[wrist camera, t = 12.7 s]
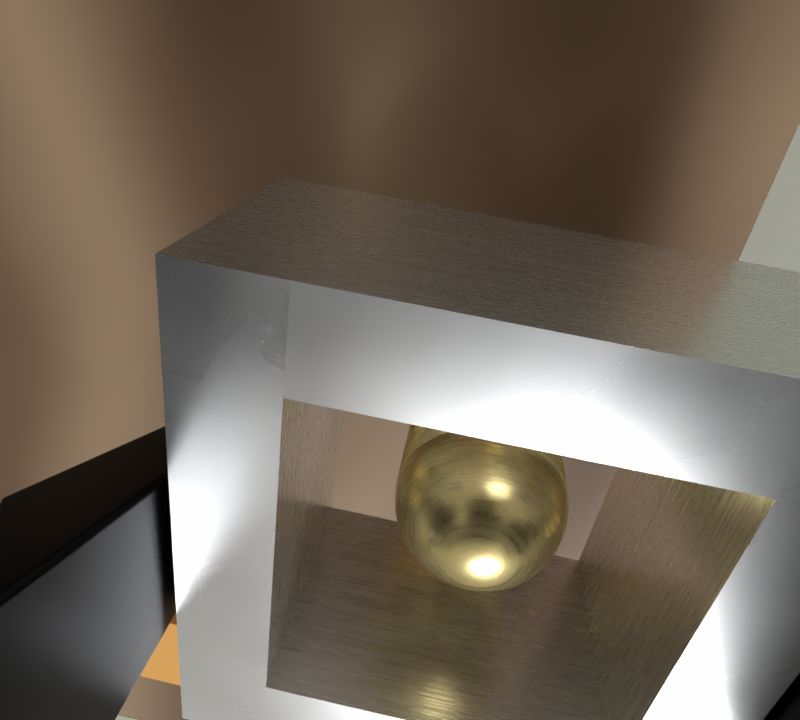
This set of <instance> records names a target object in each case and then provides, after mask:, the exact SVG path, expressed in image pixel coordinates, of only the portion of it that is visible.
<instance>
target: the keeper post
mask: <svg viewBox="0 0 800 720" xmlns="http://www.w3.org/2000/svg"><path fill="white" fill-rule="evenodd" d="M395 509H396V517H397V521H398V525H399V529H400V532H401V534H402V536H403V539H404V541H405V543H406V545H407V546H408V548H409V550H410V551H411V553H412V554H413V555H414V556H415V558H416V559H417V560H418V561H419V563H420V564H421V565H422V566H423V567H424V568H425V569H427V570H428V571H429V572H431V573H432V574H433V575H434V576H436V577H437V578H439V579H441V580H442V581H444V582H446V583H448V584H450V585H453V586H456V587H459V588H463V589H467V590H472V591H498V590H503V589H507V588H510V587H514V586H516V585H518V584H520V583H522V582H524V581H526V580H528V579H529V578H531V577H533V576H534V575H535V574H537V573H538V572H539V571H540V570H541V569H542V568H543V567H544V566H545V565H546V564H547V563H548V562H549V561H550V560H551V558H552V557H553V555H554V554H555V552H556V551H557V549H558V547H559V545H560V543H561V541H562V539H563V536H564V533H565V530H566V526H567V520H568V512H569V502H568V490H567V483H566V477H565V471H564V465H563V459H562V455H557V454H553V453H548V452H543V451H538V450H533V449H528V448H523V447H519V446H514V445H509V444H504V443H499V442H494V441H489V440H485V439H480V438H475V437H470V436H465V435H460V434H455V433H451V432H446V431H441V430H436V429H431V428H426V427H421V426H416V425H412V424H410V426H409V431H408V435H407V439H406V444H405V448H404V452H403V457H402V461H401V465H400V469H399V474H398V478H397V483H396V490H395Z"/></svg>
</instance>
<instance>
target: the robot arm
mask: <svg viewBox="0 0 800 720" xmlns="http://www.w3.org/2000/svg"><path fill="white" fill-rule="evenodd" d="M175 613H176V601H175V584H174V567H173V550H172V533H171V516H170V500H169V483H168V466H167V449H166V432H165V426H164V427H161V428H159V429H157V430H155V431H152V432H150V433H148V434H146V435H143V436H141V437H139V438H137V439H134V440H132V441H130V442H128V443H125V444H123V445H121V446H119V447H116V448H114V449H112V450H110V451H107V452H105V453H103V454H101V455H98V456H96V457H94V458H92V459H89V460H87V461H85V462H83V463H80V464H78V465H76V466H74V467H71V468H69V469H67V470H65V471H62V472H60V473H58V474H56V475H53V476H51V477H49V478H47V479H44V480H42V481H40V482H38V483H35V484H33V485H31V486H29V487H26V488H24V489H22V490H20V491H17V492H15V493H13V494H11V495H8V496H6V497H4V498H3V499H2V500H1V502H0V720H115V719H116V717H117V715H118V714H119V712H120V710H121V708H122V706H123V705H124V703H125V701H126V699H127V698H128V696H129V694H130V692H131V691H132V689H133V687H134V685H135V684H136V682H137V680H138V678H139V677H140V675H141V673H142V671H143V670H144V668H145V666H146V664H147V662H148V661H149V659H150V657H151V655H152V654H153V652H154V650H155V648H156V647H157V645H158V643H159V641H160V640H161V638H162V636H163V634H164V633H165V631H166V629H167V627H168V626H169V624H170V622H171V620H172V618H173V617H174V615H175ZM763 720H800V673H799V674H798V675H797V677H796V678H795V679H794V681H793V682H792V683H791V684H790V686H789V687H788V688H787V690H786V691H785V692H784V693H783V695H782V696H781V697H780V698H779V700H778V701H777V702H776V704H775V705H774V706H773V707H772V709H771V710H770V711H769V713H768V714H767V715H766V716H765V718H764V719H763Z"/></svg>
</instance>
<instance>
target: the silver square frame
mask: <svg viewBox="0 0 800 720" xmlns="http://www.w3.org/2000/svg"><path fill="white" fill-rule="evenodd" d="M155 264H156V280H157V297H158V314H159V331H160V348H161V365H162V382H163V398H164V415H165V432H166V449H167V466H168V483H169V500H170V516H171V533H172V550H173V567H174V584H175V601H176V618H177V635H178V651H179V668H180V685H181V702H182V718H184V719H188V720H763V719H764V718H765V716H766V715H767V714H768V713H769V711H770V710H771V709H772V707H773V706H774V705H775V704H776V702H777V701H778V700H779V698H780V697H781V696H782V695H783V693H784V692H785V691H786V690H787V688H788V687H789V686H790V684H791V683H792V682H793V681H794V679H795V678H796V677H797V675H798V674H799V673H800V273H799V272H795V271H790V270H785V269H779V268H774V267H768V266H763V265H757V264H752V263H746V262H741V261H736V260H730V259H725V258H719V257H714V256H708V255H703V254H697V253H692V252H687V251H681V250H676V249H670V248H665V247H659V246H654V245H649V244H643V243H638V242H632V241H627V240H621V239H616V238H610V237H605V236H600V235H594V234H589V233H583V232H578V231H572V230H567V229H561V228H556V227H551V226H545V225H540V224H534V223H529V222H523V221H518V220H513V219H507V218H502V217H496V216H491V215H485V214H480V213H474V212H469V211H464V210H458V209H453V208H447V207H442V206H436V205H431V204H425V203H420V202H415V201H409V200H404V199H398V198H393V197H387V196H382V195H376V194H371V193H366V192H360V191H355V190H349V189H344V188H338V187H333V186H328V185H322V184H317V183H311V182H306V181H300V180H295V179H289V178H282V179H280V180H279V181H277V182H275V183H274V184H272V185H270V186H269V187H267V188H265V189H264V190H262V191H260V192H258V193H257V194H255V195H253V196H252V197H250V198H248V199H247V200H245V201H243V202H242V203H240V204H238V205H237V206H235V207H233V208H232V209H230V210H228V211H226V212H225V213H223V214H221V215H220V216H218V217H216V218H215V219H213V220H211V221H210V222H208V223H206V224H205V225H203V226H201V227H200V228H198V229H196V230H194V231H193V232H191V233H189V234H188V235H186V236H184V237H183V238H181V239H179V240H178V241H176V242H174V243H173V244H171V245H169V246H167V247H166V248H164V249H162V250H161V251H159V252H157V253H156V254H155ZM343 410H344V411H348V412H353V413H358V414H363V415H368V416H373V417H378V418H382V419H387V420H392V421H397V422H402V423H407V424H412V425H416V426H421V427H426V428H431V429H436V430H441V431H446V432H451V433H455V434H460V435H465V436H470V437H475V438H480V439H485V440H489V441H494V442H499V443H504V444H509V445H514V446H519V447H523V448H528V449H533V450H538V451H543V452H548V453H553V454H557V455H562V456H567V457H572V458H577V459H582V460H587V461H591V462H596V463H601V464H606V465H611V466H616V467H617V470H616V472H615V474H614V477H613V479H612V482H611V484H610V486H609V489H608V491H607V494H606V496H605V498H604V501H603V503H602V506H601V508H600V510H599V513H598V515H597V518H596V520H595V522H594V525H593V527H592V530H591V532H590V534H589V537H588V539H587V542H586V544H585V546H584V549H583V551H582V554H581V556H580V558H579V560H574V559H569V558H565V557H560V556H555V555H553V557H552V558H551V560H550V561H549V562H548V563H547V564H546V565H545V566H544V567H543V568H542V569H541V570H540V571H539V572H538V573H537V574H535V575H534V576H533V577H531V578H529V579H528V580H526V581H524V582H522V583H520V584H518V585H516V586H514V587H510V588H507V589H503V590H498V591H472V590H467V589H463V588H459V587H456V586H453V585H450V584H448V583H446V582H444V581H442V580H441V579H439V578H437V577H436V576H434V575H433V574H432V573H431V572H429V571H428V570H427V569H425V568H424V567H423V566H422V565H421V564H420V563H419V561H418V560H417V559H416V558H415V556H414V555H413V554H412V553H411V551H410V550H409V548H408V546H407V545H406V543H405V541H404V539H403V536H402V534H401V532H400V529H399V525H398V521H393V520H388V519H384V518H379V517H374V516H370V515H365V514H361V513H356V512H351V511H347V510H342V509H337V508H333V507H331V503H332V495H333V486H334V478H335V469H336V461H337V453H338V444H339V436H340V427H341V419H342V411H343Z"/></svg>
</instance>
